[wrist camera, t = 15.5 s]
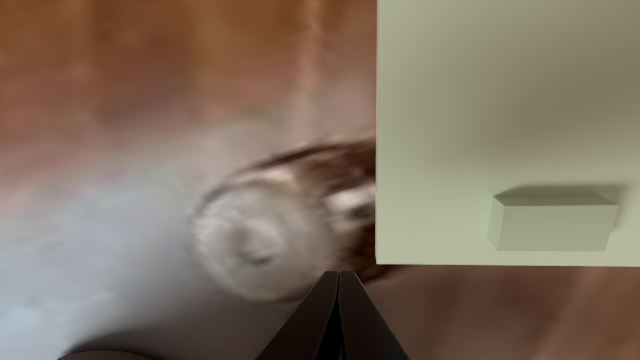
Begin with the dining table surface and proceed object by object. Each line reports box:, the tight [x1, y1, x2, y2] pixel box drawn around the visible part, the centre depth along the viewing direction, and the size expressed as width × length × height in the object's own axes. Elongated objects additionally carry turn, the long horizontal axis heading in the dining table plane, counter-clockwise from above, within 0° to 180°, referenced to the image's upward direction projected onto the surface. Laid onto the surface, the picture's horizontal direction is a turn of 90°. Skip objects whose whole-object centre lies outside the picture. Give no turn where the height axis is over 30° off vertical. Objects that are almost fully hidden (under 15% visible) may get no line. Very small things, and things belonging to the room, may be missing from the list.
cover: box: [375, 0, 640, 267], centre depth 10 cm, size 16×14×2 cm
